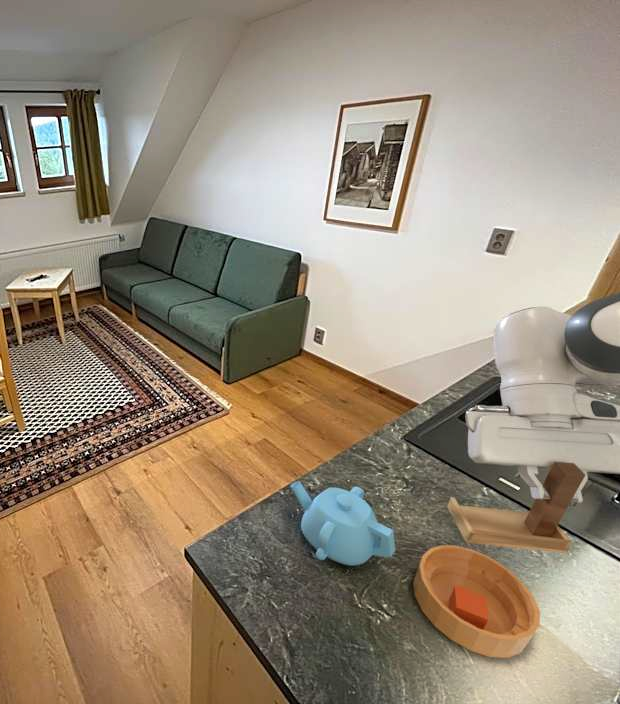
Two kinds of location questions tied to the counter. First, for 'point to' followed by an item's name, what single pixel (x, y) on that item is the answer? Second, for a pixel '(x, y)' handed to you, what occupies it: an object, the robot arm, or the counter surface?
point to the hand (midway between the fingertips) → (557, 500)
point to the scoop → (524, 516)
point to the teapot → (343, 526)
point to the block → (469, 606)
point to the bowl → (484, 579)
